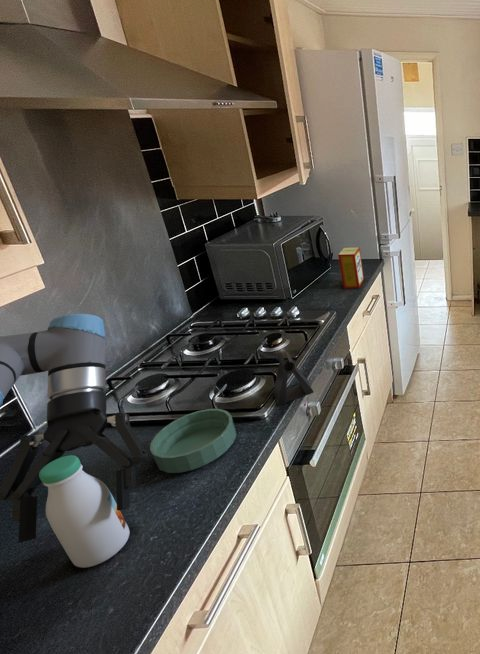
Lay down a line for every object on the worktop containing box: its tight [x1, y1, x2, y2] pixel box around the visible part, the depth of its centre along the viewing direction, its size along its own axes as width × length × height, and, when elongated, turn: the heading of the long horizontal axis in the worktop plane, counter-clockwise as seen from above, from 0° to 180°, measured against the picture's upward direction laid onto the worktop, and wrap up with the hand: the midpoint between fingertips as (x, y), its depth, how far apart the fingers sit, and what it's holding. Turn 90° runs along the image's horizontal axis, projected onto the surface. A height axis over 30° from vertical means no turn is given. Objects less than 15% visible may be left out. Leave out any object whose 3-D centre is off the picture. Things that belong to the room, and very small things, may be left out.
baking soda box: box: [337, 246, 365, 290], centre depth 182 cm, size 10×6×16 cm
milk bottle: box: [39, 455, 131, 569], centre depth 72 cm, size 8×8×20 cm
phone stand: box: [273, 351, 314, 406], centre depth 113 cm, size 9×6×12 cm, turn 127°
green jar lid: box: [149, 408, 237, 474], centre depth 96 cm, size 15×15×5 cm
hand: (77, 524), depth 70 cm, fingers open, 11 cm apart
